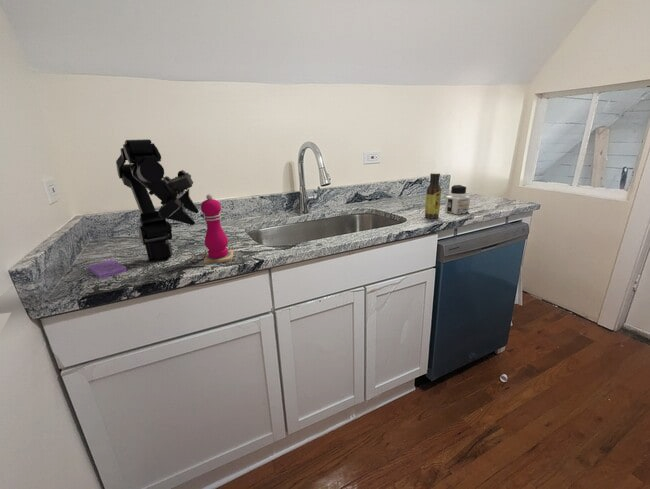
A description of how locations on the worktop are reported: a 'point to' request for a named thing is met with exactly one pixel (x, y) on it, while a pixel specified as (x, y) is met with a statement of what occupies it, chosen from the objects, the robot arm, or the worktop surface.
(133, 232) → the worktop surface
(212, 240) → the pepper mill
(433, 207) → the sauce bottle
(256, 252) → the worktop surface
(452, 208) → the container
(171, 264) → the worktop surface
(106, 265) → the sponges
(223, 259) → the dock
